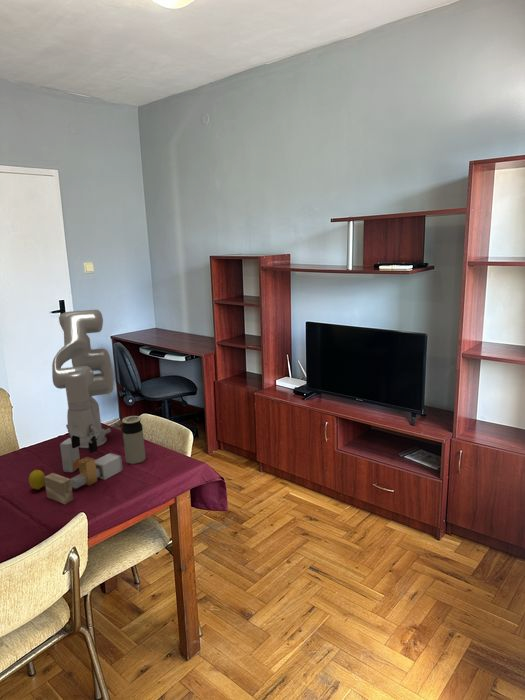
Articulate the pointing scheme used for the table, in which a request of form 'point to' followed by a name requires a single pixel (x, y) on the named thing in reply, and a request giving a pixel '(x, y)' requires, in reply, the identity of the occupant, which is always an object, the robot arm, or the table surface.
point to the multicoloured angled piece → (86, 473)
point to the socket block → (58, 488)
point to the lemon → (37, 479)
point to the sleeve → (109, 465)
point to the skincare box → (69, 456)
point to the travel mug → (133, 439)
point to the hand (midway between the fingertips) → (84, 449)
